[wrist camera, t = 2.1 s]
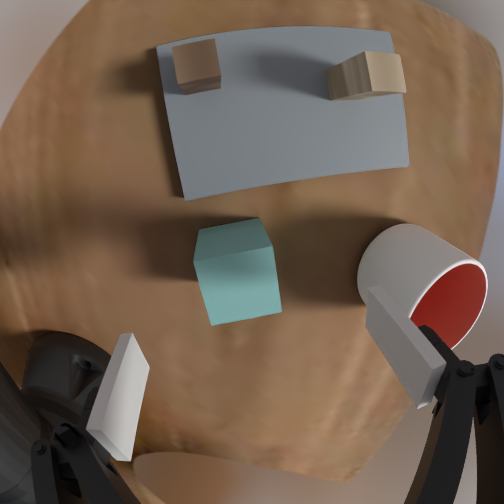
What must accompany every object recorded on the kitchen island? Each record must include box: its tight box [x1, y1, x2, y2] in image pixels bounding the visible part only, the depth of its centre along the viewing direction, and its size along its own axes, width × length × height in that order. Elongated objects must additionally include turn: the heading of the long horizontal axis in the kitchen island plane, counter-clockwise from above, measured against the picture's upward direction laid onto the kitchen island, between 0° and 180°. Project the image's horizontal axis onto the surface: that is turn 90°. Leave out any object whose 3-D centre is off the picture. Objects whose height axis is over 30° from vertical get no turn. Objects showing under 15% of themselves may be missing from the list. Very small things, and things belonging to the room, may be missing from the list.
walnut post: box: [172, 38, 221, 95], centre depth 17 cm, size 3×3×5 cm
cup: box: [357, 224, 488, 349], centre depth 24 cm, size 10×10×10 cm
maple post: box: [325, 51, 406, 101], centre depth 17 cm, size 3×3×7 cm
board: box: [156, 26, 409, 201], centre depth 21 cm, size 20×13×1 cm, turn 99°
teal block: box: [193, 218, 282, 326], centre depth 23 cm, size 5×5×7 cm
